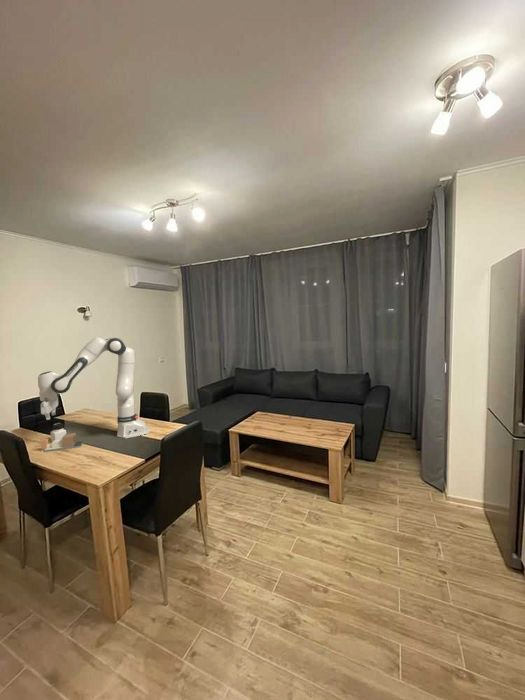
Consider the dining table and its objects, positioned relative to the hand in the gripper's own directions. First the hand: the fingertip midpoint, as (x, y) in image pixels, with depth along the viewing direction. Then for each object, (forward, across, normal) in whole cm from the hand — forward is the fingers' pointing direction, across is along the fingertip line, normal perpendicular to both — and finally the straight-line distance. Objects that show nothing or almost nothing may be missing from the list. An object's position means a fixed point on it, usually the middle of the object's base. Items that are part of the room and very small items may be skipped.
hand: (51, 417), depth 188 cm
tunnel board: (+21, -2, -6) cm, 22 cm away
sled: (+19, -2, 0) cm, 19 cm away
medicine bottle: (+21, +12, +1) cm, 24 cm away
